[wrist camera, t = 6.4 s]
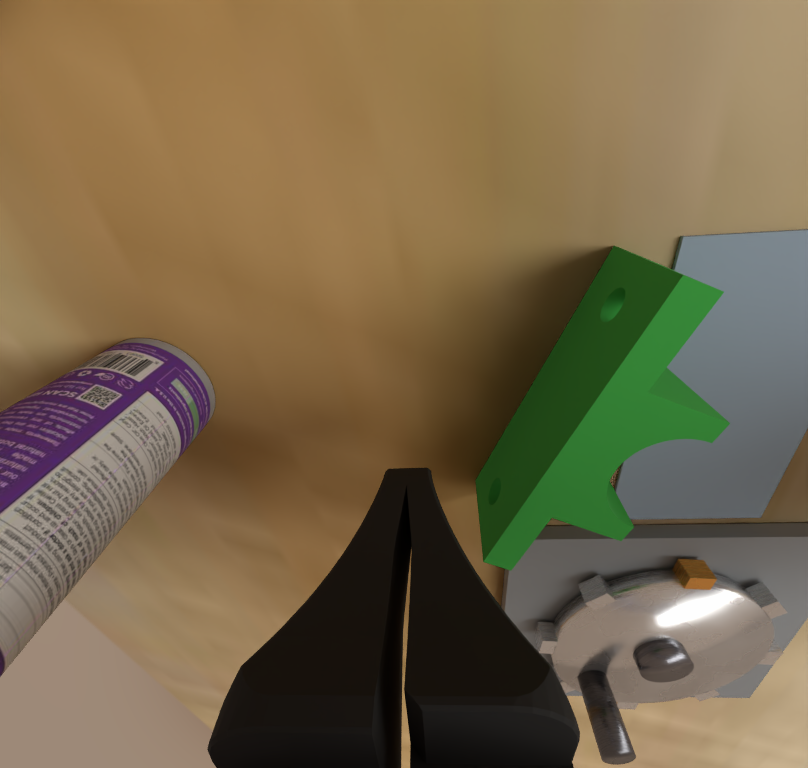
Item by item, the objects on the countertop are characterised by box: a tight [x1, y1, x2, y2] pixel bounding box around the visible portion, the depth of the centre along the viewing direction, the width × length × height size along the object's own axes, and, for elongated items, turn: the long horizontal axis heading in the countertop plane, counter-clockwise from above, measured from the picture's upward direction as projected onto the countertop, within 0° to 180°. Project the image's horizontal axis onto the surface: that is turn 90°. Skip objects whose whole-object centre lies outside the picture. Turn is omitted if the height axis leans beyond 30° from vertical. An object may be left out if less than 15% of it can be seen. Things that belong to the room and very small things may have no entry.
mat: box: [615, 229, 808, 519], centre depth 16 cm, size 7×13×1 cm, turn 3°
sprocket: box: [534, 559, 787, 764], centre depth 20 cm, size 12×12×4 cm
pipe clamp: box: [475, 246, 730, 571], centre depth 14 cm, size 11×4×5 cm, turn 161°
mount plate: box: [501, 523, 808, 698], centre depth 23 cm, size 16×15×1 cm
